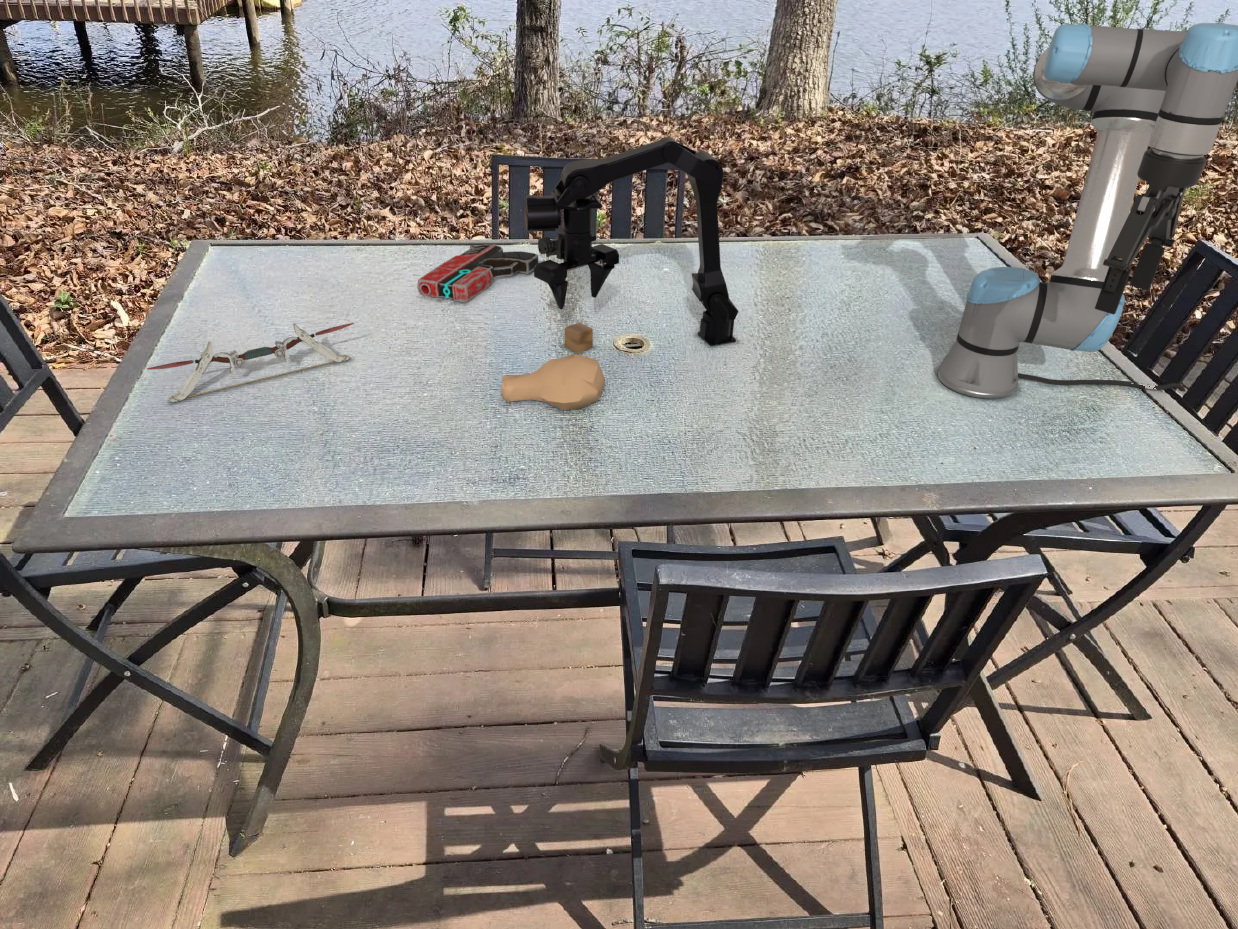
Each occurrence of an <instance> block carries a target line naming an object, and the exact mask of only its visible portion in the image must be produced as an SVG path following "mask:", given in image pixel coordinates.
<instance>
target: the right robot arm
mask: <svg viewBox="0 0 1238 929" xmlns="http://www.w3.org/2000/svg"><path fill="white" fill-rule="evenodd" d="M1032 73H1033V74H1032V80H1033V85H1034V87H1035V89H1036V91H1037V92H1038V93H1039V94H1040V95H1041V96H1042V97H1043V98H1044V99H1046V100H1047V101H1049V102H1051V103H1053V104H1055V105H1057V106H1060V107H1063V108H1067V109H1070V110H1076V111H1085V112H1092V116H1091V117H1092V118H1091V122H1090V124H1091V125H1092V127H1093V128H1094V130H1095V131H1096V137H1095V141H1094V146H1093V149H1092V154H1091V158H1090V161H1089V165H1088V168H1087V172H1086V176H1085V180H1084V182H1083V183H1084V184H1083V188H1082V192H1081V194H1080V199H1079V202H1078V205H1077V210H1076V213H1075V218H1074V220H1073V225H1072V229H1071V232H1070V236H1069V240H1068V244H1067V248H1066V252H1065V255H1064V259H1063V262H1062V265H1061V266H1060V267H1059V268H1057V269H1056V270H1055V271H1053V272H1052V273H1051V274H1050V278H1049V282H1042V281H1041V279H1040V276H1039V274H1038V273H1036V271H1033V270H1031V269H1026V268H1023V267H1016V266H999V267H992V268H988V269H985V270H982V271H980V272H979V273H977V274H976V275H975V276H974V277H973V279H972V281H971V284H970V287H969V290H968V293H967V294H966V303H965V305H964V310H963V313H962V316H961V320H960V324H959V328H958V331H957V334H956V335H957V336H956V339H955V342H954V343H953V344H952V346H951V348H950V349H949V351H948V353H946V355H945V356H944V358H943V359H942V361H941V362H940V365H939V368H938V371H937V378H938V380H939V381H940V382H941V384H942V385H944V386H945V387H946V388H948V389H950V391H953V392H956V393H957V394H960V395H964V396H968V397H971V398H977V399H983V400H997V399H998V400H999V399H1004V398H1007V397H1010V396H1012V395H1014V394H1015V392H1016V390H1017V387H1018V382H1019V379H1022V380H1023V379H1024V380H1029V381H1035V382H1040V383H1043V384H1048V385H1049V384H1050V385H1059V386H1069V385H1070V386H1075V385H1079V386H1080V385H1095V386H1096V385H1097V386H1098V385H1101V386H1102V385H1104V386H1105V385H1106V386H1107V385H1108V386H1123V387H1130V388H1135V389H1141V390H1146V389H1145V386H1143V385H1137V384H1131V383H1133V382H1134V381H1127V380H1120V379H1119V380H1118V379H1117V380H1116V379H1052V378H1046V377H1042V376H1038V375H1032V374H1027V373H1020V372H1019V366H1018V350H1019V348H1020V344H1021V343H1027V344H1033V345H1039V346H1044V347H1045V346H1046V347H1051V348H1057V349H1063V350H1069V351H1071V352H1076V351H1078V352H1085V353H1096V352H1098V351H1100V350H1101V349H1103V347H1105V345H1106V344H1108V342H1109V340H1110V339H1111V337H1112V335H1113V334H1114V332H1115V330H1116V328H1117V326H1118V323H1119V322H1120V320H1121V316H1122V313H1123V310H1124V305H1125V301H1126V297H1125V294H1124V291H1125V289H1126V286H1127V283H1128V281H1129V279H1130V275H1131V272H1132V269H1131V266H1132V265H1133V263H1134V261H1135V259H1136V257H1138V254H1139V252H1140V251H1141V253H1140V256H1139V258H1138V261H1137V264H1136V266H1135V269H1134V272H1133V273H1132V277H1131V280H1130V283H1129V286H1131V287H1135V288H1138V289H1142V290H1146V291H1149V290H1150V289H1151V287H1152V284H1153V282H1154V280H1155V276H1156V274H1157V271H1158V269H1159V267H1160V264H1161V262H1162V258H1163V255H1164V253H1165V250H1166V248H1172V247H1173V246H1174V244H1175V242H1176V241H1175V239H1173V238H1175V236H1176V230H1177V226H1178V222H1179V218H1180V217H1179V216H1180V213H1181V209H1182V205H1183V202H1184V197H1185V193H1186V191H1187V188H1193V187H1195V186H1196V185H1197V184H1198V183H1199V181H1200V179H1201V176H1202V174H1203V171H1204V169H1205V166H1206V163H1207V158H1206V155H1208V154H1211V151H1212V149H1213V147H1214V143H1215V141H1216V138H1217V136H1218V133H1219V130H1220V128H1221V126H1222V121H1223V118H1224V116H1225V114H1226V111H1227V109H1228V107H1229V104H1230V101H1231V99H1232V96H1233V94H1234V91H1235V88H1236V86H1237V83H1238V25H1237V24H1229V23H1219V22H1200V23H1195V24H1193V25H1191V26H1190V27H1189V28H1188V29H1184V30H1181V31H1180V30H1167V29H1164V30H1163V29H1149V28H1129V27H1115V26H1103V25H1092V24H1091V25H1089V24H1088V23H1077V24H1068V23H1067V24H1064V23H1063V24H1061V25H1059V26H1058V27H1057V28H1056V29H1055V31H1054V33H1053V35H1052V37H1051V40H1050V43H1049V47H1048V48H1047V49H1045V50H1044V51H1043V52H1042V53H1041V55H1040V56H1039V58H1038V59H1037V60H1036V63H1035V65H1034V67H1033V72H1032ZM1148 147H1150V148H1148ZM1139 179H1140V180H1141V181H1143V182H1146V183H1147V184H1148V187H1147V188H1146V190H1145V193H1142V194H1139V193H1138V194H1137V195H1136V196H1135V194H1136V190H1137V186H1138V184H1139ZM1147 239H1148V241H1147V242H1146V240H1147ZM1145 242H1146V243H1145ZM1142 247H1143V248H1142ZM1141 249H1142V250H1141ZM1154 385H1155V384H1154ZM1149 387H1150V386H1149ZM1154 388H1156V389H1157V390H1156V391H1165V390H1169V389H1178V391H1180V392H1183V393H1184V392H1186V388H1185V387H1184V385H1182V384H1181V383H1178V382H1171V383H1166V384H1161V385H1155V387H1154ZM1154 388H1153V389H1154Z"/></svg>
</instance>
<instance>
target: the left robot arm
mask: <svg viewBox="0 0 1238 929" xmlns="http://www.w3.org/2000/svg"><path fill="white" fill-rule="evenodd" d="M666 164H671V165H673V166H675V167H676V168H678V169H679V170H681V171H682V172H684V173H685V174H687V177H688V181H689V185H690V187H691V190H692V194H693V196H694V199H695V207H696V208H695V209H696V224H697V237H698V238H697V242H698V256H699V267H698V270H697V272H692V273H691V274H690V275H691V279H692V287H691V291H692V292H693V293H694V295H695V297H696V299H697V300H698V302H700V304H702V307H703V308H704V309H705V310H703V311H702V318H700V322H699V331H698V332H697V336H698V337H700V339H701V340H703V341H704V342H705V343H707V345H708V346H711V347H714V346H720V345H724V344H731V343H735V342H737V338H735V336H734V327H735V320H736V318H737V317H738V314H739V309H738V308H737V307H736V305H735V304H734V303H733V302H732V300H731V299H730V295H729V290H728V286H727V283H726V282H727V281H726V279H725V276H724V273H723V271H722V267H721V265H722V264H721V248H720V246H721V245H720V229H719V228H720V226H719V225H720V224H719V206H718V203H719V199H720V195H721V192H722V188H723V180H724V168H723V165H722V164H721V163H720V162H719V161H718V160H717V159H716V158H715V157H714V156H713V155H712V154H711V153H709V152H707V151H703V150H702V151H695V150H694V149H692V148H691V147H689V146H687V145H685V144H683V143H680V142H678V141H676V139H674V138H673V137H672V136H663V137H661V138H660V139H659V140H655V141H653V142H650V143H647V144H644V145H641V146H638V147H635V148H632V149H629V150H626V151H624V152H620V153H617V154H614V155H611V156H608V157H606V158H586V159H580V160H579V159H577V160H573V161H570V162H567V163H566V164H565V165H564V167H563V168H562V171H561V175H560V179H559V181H558V182H557V183H556V185H555V186H554V187H553V189H552V191H551V195H534V194H527V195H526V196H525V206H524V210H523V211H524V212H523V213H524V226H525V231H526V233H533V232H534V233H535V232H536V233H537V232H538V233H539V232H556V230H557V229H559V226H561V224H562V232H559V233H558V235H557V237H555V238H552V239H551V237H550V236H545V237H544V236H543V237H541V238H538V239H537V249H538V253H539V254H540V255H545V256H546V258H550V257H552V256H556V259H558V260H563V262H557V261H554V260H552V259H547V260H544V261H540V262H538V263H537V264H536V265H535V266H534V270H533V277H534V278H536V279H538V280H540V281H542V282H543V283H546V284H547V286H548V287H549V289H550V291H551V293H552V295H553V298H554V300H555V303H556V305H557V308H558V309H560V310H561V311H562V310H564V308H565V304H566V298H567V291H568V287H569V286H568V285H569V281H567V280H566V279H567V278H568V272H570V271H574V270H577V269H580V268H582V267H585V266H587V267H588V269H589V271H590V295H591V298H593V299H596V298H597V296H598V295H599V293H600V291H601V290H602V288H603V285H604V284H605V282H606V279H607V278H608V277H609V275H610V274H611V272H612V270H613V269H615V268H616V266H617V265H619V264H620V253H619V251H618V250H617V249H616V248H614V247H611V246H608V245H606V244H604V243H600V244H597V245H594V246H593V242H595V241H597V235H596V234H593V209H603V206H604V205H603V204H602V202H601V200H600V199H599V198H597V196H596V195H595V194H596V193H599V192H600V191H601V190H602V189H603V188H605V187H606V186H607V185H609V184H610V183H613V182H614V181H617V180H620V179H624V178H626V177H630V176H632V175H635V174H639V173H641V172H645V171H647V170H650V169H653V168H657V167H660V166H663V165H666Z"/></svg>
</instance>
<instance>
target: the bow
mask: <svg viewBox="0 0 1238 929" xmlns="http://www.w3.org/2000/svg"><path fill="white" fill-rule="evenodd" d="M354 324H355V322H351V323H346V324H342V325H337V326H333V327H329V328H326V329H323V330H319V331H316V332H315V333H311V334H309V333H308V332H307V331H305V330H304V329H302V328H300V327H299V326H298V324H297V323H295V322H293V323H292V326H293V330H294V333H295V335H297V337H296V336H288V337H286V338H285V339H284V340H282V341H280V340H279V341H277V340H275V341H274V345H275V346H272V347H270V346H262V347H258V348H253V349H249V350H246V351H245V352H243V353H242V354H239V353H237V351H236V350H235V349H233V350H232V351H230V352H224V351H221V352H217V353H214V346H213V343H212V342H211V341H207V344H206V347H205V349H204V351H203V352H202V353H201V354H200V358H199V359H194V360H193V359H192V360H191V359H189V360H183V361H175V362H170V363H169V362H168V363H165V364H161V365H160V364H159V365H156V366H152V367H151V366H150V367H147V368H146V370H147V371H150V370H151V371H152V370H163V369H172V368H177V367H182V366H187V365H192V364H196V367H195V369H193V370H192V371H191V373H190V374H189V376H188V377H187V378H186V379H185V381H184V383H183V385H182V387H181V390H180V391H178V392H177V393H175V394H172V395H171V396H169V397H168V399H169V402H172V403H175V402H180V401H184V400H185V399H187V398H191V397H195V396H199V395H200V396H201V395H204V394H207V393H212V392H217V391H220V390H224V389H230V388H233V387H237V386H241V385H246V384H250V383H253V382H258V381H261V380H262V381H263V380H266V379H271V378H274V377H279V376H283V375H286V374H292V373H295V372H301V371H303V370H308V369H312V368H316V367H320V366H325V365H329V364H332V363H342V362H346V361H349V359H350V356H349V354H336V353H335V352H334V351H333V350H332V349H331V348H329V347H328V346H327V345H325V344H323V343H321V342H319V341H316V340H315V339H313V338H315V337H317V336H322V335H325V334H326V335H327V334H331V333H334V332H336V331H339V330H343V329H345V328H347V327H350V326H353V325H354ZM299 343H300V344H304V345H306V346H308V347H309V348H311V349H313V350H315V352H317V353H319V354H320V355H322V356H323V357H325V358H327V359H329V360H331V361H329V362H326V363H321V364H317V365H313V366H308V367H305V368H300V369H296V370H292V371H287V372H283V373H279V374H275V375H272V376H271V375H270V376H267V377H262V378H259V379H254V380H251V381H245V382H242V383H238V384H234V385H230V386H225V387H221V388H217V389H213V390H208V391H205V392H199V393H195V394H192V395H191V393H192V392H193V391H194V390H195V387H196V386H197V384H198V382H199V381H200V379H201V378H202V376H203V375H204V373H205V372H206V371H207V369H209V367H210V366H211V364H212V363H213V362H215V363H222V364H229V373H230V374H231V375H236V374H237V372H236V371H237V370H236V368H241V367H243V366H244V364H245V361H247V360H252V359H257V358H261V357H265V356H270V355H274V356H275V357H276V358H277V359H278V358H279V359H280V358H282V357H283V358H284V360H285V362H291V361H292V360H291V358H290V355H289V354H288V350H290V349H292V348H294V347H295V346H296V345H298V344H299Z"/></svg>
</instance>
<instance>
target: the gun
mask: <svg viewBox="0 0 1238 929" xmlns="http://www.w3.org/2000/svg"><path fill="white" fill-rule="evenodd" d="M537 263H539V254H537V253H534V252H529V251H521V250H519V251H518V250H517V251H504V249H503V247H502V246H501V245H498V244H496V243H492V244H487V243H484V244H480V245H474V244H470V245H469V249H467V250H466V251H464V252H462V253H461V254H459V255H454V256H452V257H451V258H449V259H448V260H446V261H444V262H442V263H441V264H440V265H438V266H437V267H435V268H433V269H431V270H430V271H428V272H427V273H426V274H424V275H422V276H421V277H420V278H418V279H417V285H416V286H417V287H416V288H417V291H418V294H419V295H421V296H426V297H430V298H445V299H452V300H453V301H454V302H457V303H458V302H459V303H466V302H469V301H470V300H472V299H473V298H474V297H476V296H477V295H479V294H480V293H482V292H483V291H485V290H486V289H488V288H489V287H491V286H492V283H493V280H494V278H501V277H502V278H503V277H509V276H514V275H515V274H516V273H522V274H527V275H529V274H530V273H532V272H534V266H535V265H536V264H537Z"/></svg>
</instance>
